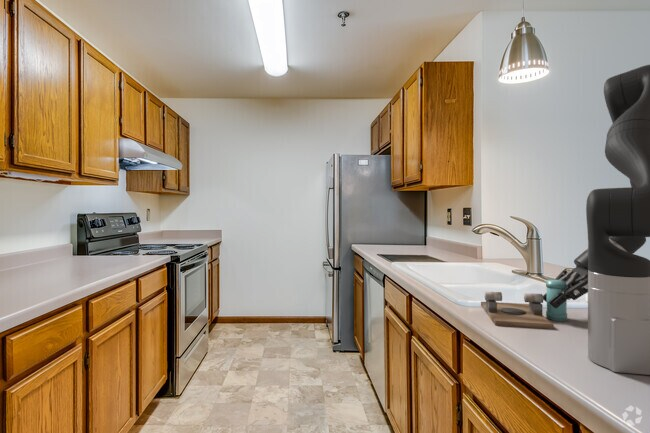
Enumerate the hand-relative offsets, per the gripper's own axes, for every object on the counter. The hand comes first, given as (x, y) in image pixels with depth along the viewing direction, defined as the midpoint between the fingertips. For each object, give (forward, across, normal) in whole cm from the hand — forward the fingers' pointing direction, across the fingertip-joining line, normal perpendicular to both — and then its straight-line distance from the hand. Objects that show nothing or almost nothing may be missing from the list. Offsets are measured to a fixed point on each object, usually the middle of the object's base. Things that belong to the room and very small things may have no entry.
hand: (548, 302), depth 91 cm
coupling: (+2, 0, +4) cm, 5 cm away
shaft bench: (+9, 0, -3) cm, 10 cm away
